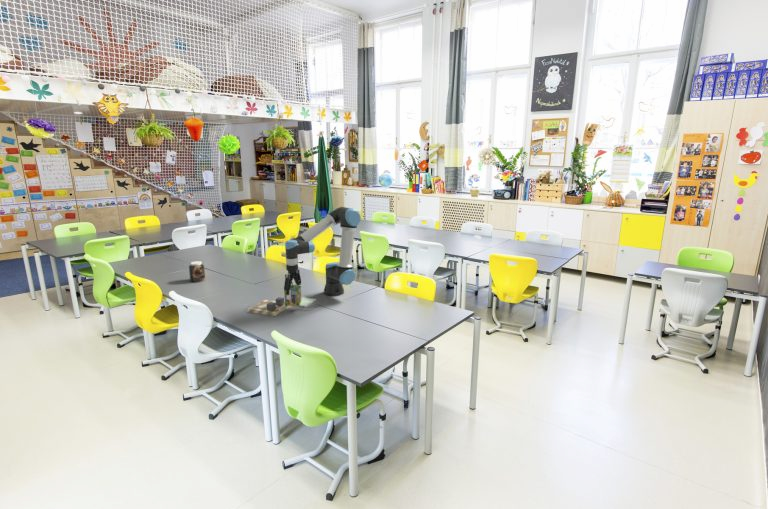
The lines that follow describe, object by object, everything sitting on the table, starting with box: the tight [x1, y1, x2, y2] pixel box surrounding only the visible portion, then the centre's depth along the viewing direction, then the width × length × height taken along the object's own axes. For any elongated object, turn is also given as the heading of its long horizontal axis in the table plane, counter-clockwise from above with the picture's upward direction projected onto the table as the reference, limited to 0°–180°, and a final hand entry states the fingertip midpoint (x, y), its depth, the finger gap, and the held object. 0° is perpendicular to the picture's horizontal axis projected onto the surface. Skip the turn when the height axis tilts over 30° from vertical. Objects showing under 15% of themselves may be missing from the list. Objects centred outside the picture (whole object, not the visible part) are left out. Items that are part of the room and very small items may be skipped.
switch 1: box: [267, 302, 276, 311], centre depth 263 cm, size 4×4×4 cm
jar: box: [188, 260, 206, 283], centre depth 330 cm, size 12×12×15 cm
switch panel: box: [247, 299, 291, 317], centre depth 271 cm, size 20×19×2 cm
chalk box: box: [283, 281, 302, 307], centre depth 268 cm, size 9×9×15 cm
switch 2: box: [275, 296, 285, 306], centre depth 273 cm, size 4×4×4 cm
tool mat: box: [298, 296, 317, 308], centre depth 284 cm, size 15×15×1 cm
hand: (293, 296), depth 268 cm, fingers closed on chalk box, 10 cm apart
